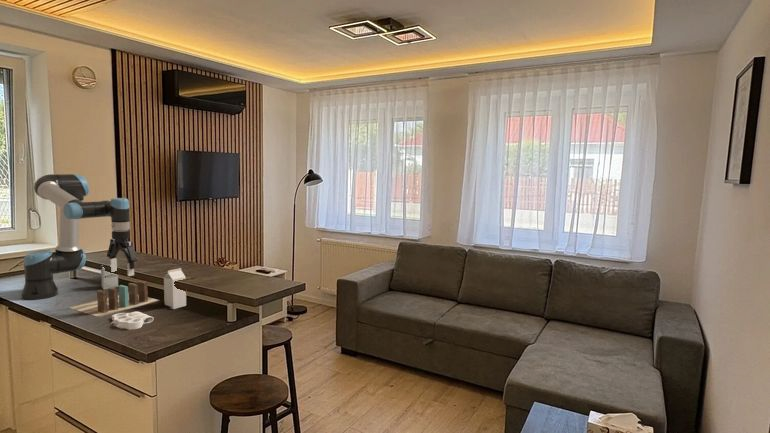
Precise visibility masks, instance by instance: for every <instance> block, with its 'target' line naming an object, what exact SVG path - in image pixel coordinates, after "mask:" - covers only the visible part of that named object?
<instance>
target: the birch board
mask: <svg viewBox="0 0 770 433" xmlns="http://www.w3.org/2000/svg"><path fill="white" fill-rule="evenodd" d="M128 301H129V292H128ZM159 301H160V299H156V298H152V297H149V296H148V301H147V302H143V301H139V294H138V304H136V305H135V304H131V303H129V307H122V306H119V294H118V309H117V310H113V309H109V301H108V297H107V306H108V312H106V313H102V312H99V311H98V301H97V299H96V300H92V301H88V302H84V303H81V304H76V305H72V306H71V305H70V306H68V307H67V308H68V309H71V310H74V311H78V312H81V313H84V314H88V315H91V316H95V317H97V318H102V317H105V316H108V315H113V314H117V313H121V312H123V311H126V310H130V309H133V308H138V307H141V306H145V305H148V304H152V303H156V302H159Z"/></svg>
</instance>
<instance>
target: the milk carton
mask: <svg viewBox="0 0 770 433" xmlns="http://www.w3.org/2000/svg"><path fill="white" fill-rule="evenodd" d="M183 279H186V276H185V273H184V272H183V270H182V268H181V267H177V268H175V269H169V270H167V273H166V274H165V276H164V277H163V288H164V289H163V292H164V295H163V296H164V297H163V298H164V305H165V306H168V309H170V310H171V309H172V310H176V309H179V308H183V307H186V306H187V291H186V292H185V291H183V290H180V289H177V288H176V287H175V286H174V285H175V284H174V282H175V281H178V280H183Z"/></svg>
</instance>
